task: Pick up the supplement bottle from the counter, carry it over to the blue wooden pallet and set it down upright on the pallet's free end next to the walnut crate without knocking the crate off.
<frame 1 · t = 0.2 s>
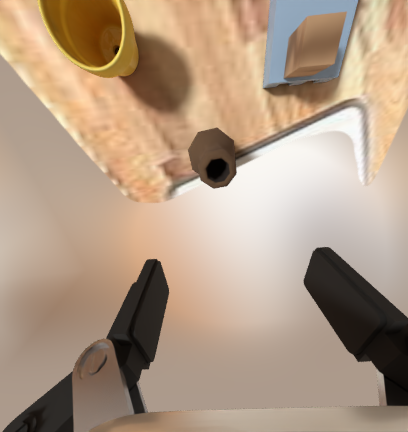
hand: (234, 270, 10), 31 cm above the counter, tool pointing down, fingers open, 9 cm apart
crate: (301, 57, 25), point 3 cm above the counter, touching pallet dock
plant pot: (121, 53, 27), on the counter
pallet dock: (303, 23, 25), on the counter
beer bottle: (209, 148, 35), on the counter
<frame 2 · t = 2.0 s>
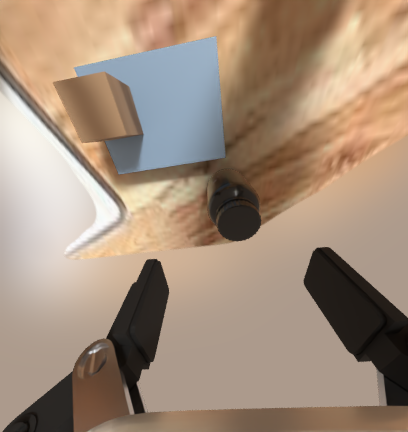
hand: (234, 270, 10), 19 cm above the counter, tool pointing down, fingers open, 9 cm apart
crate: (118, 115, 19), point 3 cm above the counter, touching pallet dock
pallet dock: (164, 119, 22), on the counter
supplement bottle: (225, 187, 27), on the counter
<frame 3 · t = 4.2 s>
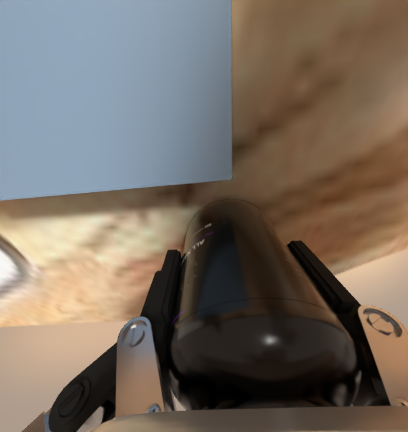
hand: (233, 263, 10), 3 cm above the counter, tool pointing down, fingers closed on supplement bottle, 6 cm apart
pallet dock: (67, 63, 8), on the counter
supplement bottle: (226, 232, 13), on the counter, touching gripper
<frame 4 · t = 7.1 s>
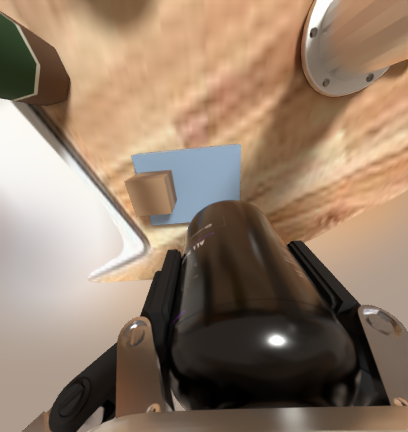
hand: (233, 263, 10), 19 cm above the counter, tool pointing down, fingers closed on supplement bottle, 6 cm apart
crate: (159, 186, 24), point 3 cm above the counter, touching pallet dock
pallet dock: (191, 184, 27), on the counter
supplement bottle: (226, 233, 13), point 16 cm above the counter, touching gripper
beer bottle: (42, 72, 20), on the counter
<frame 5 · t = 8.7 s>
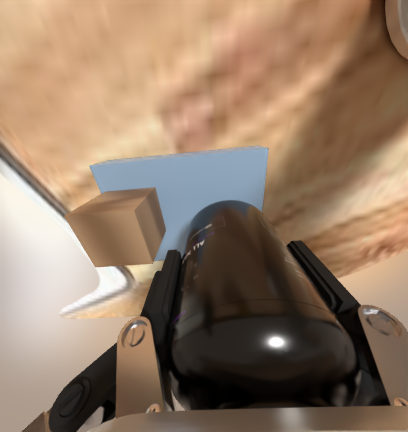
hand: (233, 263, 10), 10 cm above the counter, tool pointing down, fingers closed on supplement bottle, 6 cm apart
crate: (137, 212, 16), point 3 cm above the counter, touching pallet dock
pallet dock: (188, 205, 19), on the counter
supplement bottle: (226, 233, 13), point 6 cm above the counter, touching gripper
when the fingers open (8 cm above the counter, at t = 10.1 s): supplement bottle drops 1 cm, resting on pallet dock.
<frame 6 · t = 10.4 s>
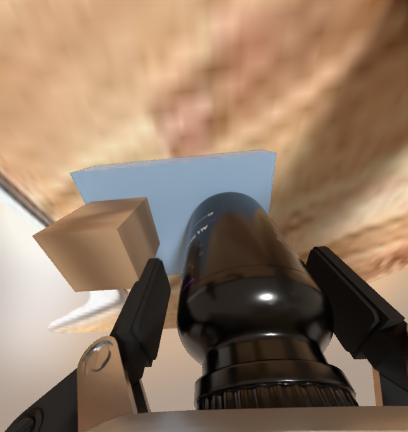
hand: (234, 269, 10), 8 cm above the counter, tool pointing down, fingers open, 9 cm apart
crate: (127, 224, 14), point 3 cm above the counter, touching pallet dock
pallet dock: (185, 214, 17), on the counter
supplement bottle: (226, 223, 14), point 3 cm above the counter, touching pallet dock
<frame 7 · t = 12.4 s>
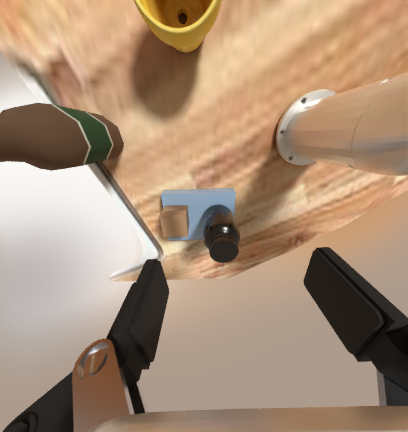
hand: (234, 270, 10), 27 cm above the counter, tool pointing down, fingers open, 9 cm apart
crate: (177, 215, 35), point 3 cm above the counter, touching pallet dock
plant pot: (183, 23, 23), on the counter
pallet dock: (199, 212, 38), on the counter
supplement bottle: (217, 216, 35), point 3 cm above the counter, touching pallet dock
beer bottle: (105, 138, 30), on the counter
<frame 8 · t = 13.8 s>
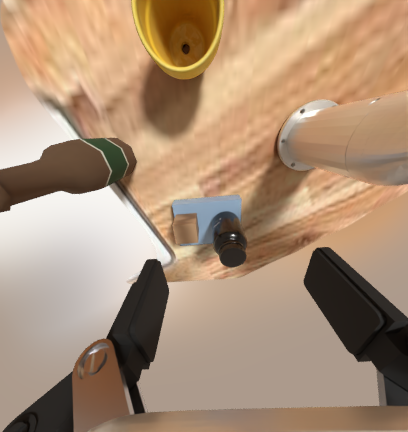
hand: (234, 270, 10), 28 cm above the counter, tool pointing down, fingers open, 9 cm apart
crate: (187, 222, 37), point 3 cm above the counter, touching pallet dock
plant pot: (186, 52, 25), on the counter
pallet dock: (208, 218, 40), on the counter
supplement bottle: (225, 222, 37), point 3 cm above the counter, touching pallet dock
beer bottle: (120, 157, 33), on the counter
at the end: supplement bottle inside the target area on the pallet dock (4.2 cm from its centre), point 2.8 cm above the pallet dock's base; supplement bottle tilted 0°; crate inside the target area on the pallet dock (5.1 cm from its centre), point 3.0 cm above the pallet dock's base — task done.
